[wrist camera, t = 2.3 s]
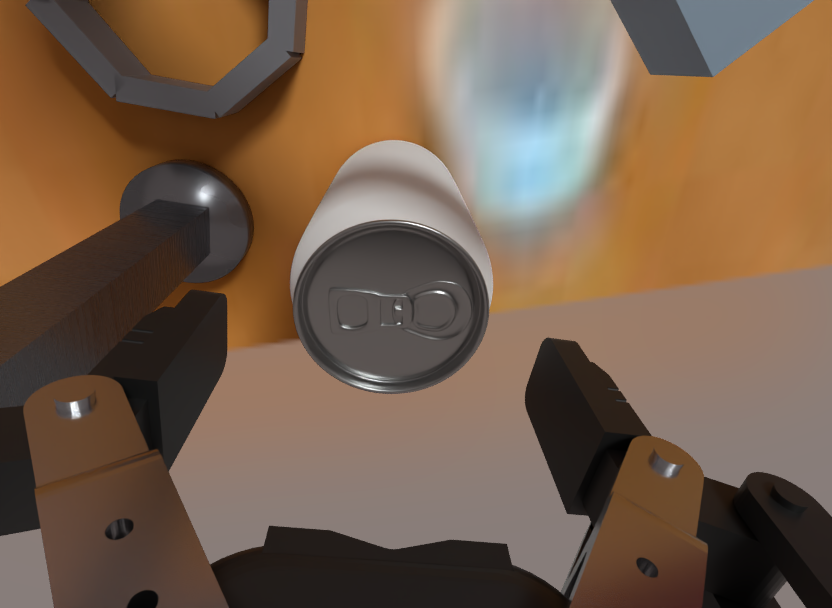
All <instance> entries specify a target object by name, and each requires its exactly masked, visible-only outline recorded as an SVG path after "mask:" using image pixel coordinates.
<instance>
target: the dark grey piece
mask: <svg viewBox="0 0 832 608" xmlns="http://www.w3.org/2000/svg"><path fill="white" fill-rule="evenodd" d="M253 232H254V223H253V217H252V213H251V209H250V206H249V204H248V202H247V200H246V198H245V197H244V195H243V193H242V192H241V191H240V189H239V188H238V187H237V186H236V185H235V184H234V183H233V182H232V180H230V179H229V178H228V177H227V176H226V175H224V174H223V173H221V172H220V171H218V170H217V169H215V168H213V167H211V166H209V165H206V164H203V163H201V162H196V161H192V160H171V161H166V162H163V163H160V164H158V165H155V166H153V167H150V168H148V169H146V170H144V171H142V172H141V173H139V174H138V175H136V176H135V177H134V178H133V179H132V180H131V181H130V182H129V184H128V185H127V187H126V188H125V191H124V193H123V195H122V199H121V203H120V220H119V221H117V222H115V223H114V224H112V225H110V226H108V227H106V228H105V229H103V230H101V231H99V232H97V233H96V234H94V235H92V236H90V237H89V238H87V239H85V240H83V241H81V242H80V243H78V244H76V245H74V246H72V247H71V248H69V249H67V250H65V251H64V252H62V253H60V254H58V255H56V256H55V257H53V258H51V259H49V260H47V261H46V262H44V263H42V264H40V265H39V266H37V267H35V268H33V269H31V270H30V271H28V272H26V273H24V274H22V275H21V276H19V277H17V278H15V279H13V280H12V281H10V282H8V283H6V284H5V285H3V286H1V287H0V408H5V407H15V406H23V405H25V402H26V401H27V399H28V398H29V397H30V396H31V395H32V394H33V393H35V392H36V391H37V390H39V389H40V388H42V387H44V386H46V385H48V384H50V383H52V382H55V381H58V380H61V379H65V378H68V377H74V376H81V375H87V374H88V373H89V372H90V371H91V370H92V369H93V368H94V367H95V366H96V365H97V364H98V363H99V362H100V361H101V360H102V359H103V358H104V357H105V356H106V355H107V354H108V353H109V352H110V351H111V350H112V349H113V348H114V347H115V346H116V345H117V344H118V343H119V342H122V339H123V338H124V337H125V336H126V334H127V333H128V332H129V331H132V328H133V327H134V326H135V325H136V324H137V323H138V322H139V321H140V320H141V319H142V318H143V317H144V316H146V315H148V314H150V313H152V312H153V311H154V310H155V309H156V308H157V307H158V306H159V305H160V304H161V303H162V302H163V301H164V300H165V299H166V298H167V297H168V296H169V295H170V294H171V293H172V292H173V291H174V290H175V289H176V288H177V287H178V286H179V285H180V284H181V283H182V281H183V282H190V283H203V282H210V281H213V280H217V279H219V278H221V277H223V276H225V275H226V274H228V273H229V272H231V271H232V270H233V269H234V268H235V267H236V266H237V265H238V263H239V262H240V261H241V260H242V258H243V257H244V256H245V255H246V253H247V251H248V250H249V248H250V245H251V243H252V239H253Z"/></svg>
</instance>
